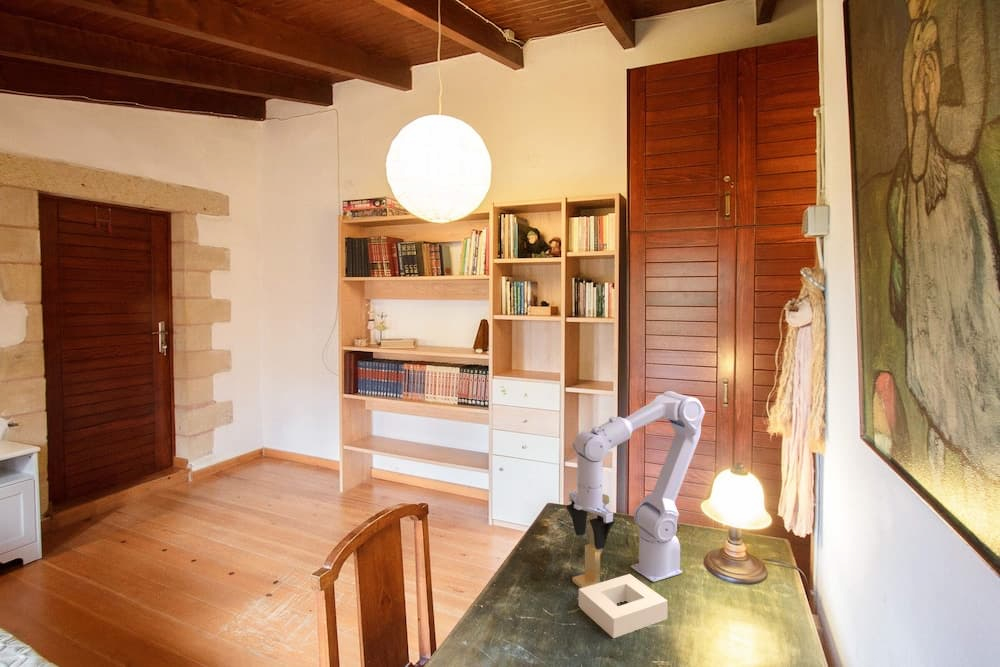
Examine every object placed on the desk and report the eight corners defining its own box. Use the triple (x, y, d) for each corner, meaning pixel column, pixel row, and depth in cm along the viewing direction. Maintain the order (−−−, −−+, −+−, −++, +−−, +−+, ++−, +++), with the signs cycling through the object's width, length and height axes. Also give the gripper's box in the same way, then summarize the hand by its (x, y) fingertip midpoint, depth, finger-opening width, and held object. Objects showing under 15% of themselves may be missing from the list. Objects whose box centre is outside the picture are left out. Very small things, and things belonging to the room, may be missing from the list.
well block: (629, 590, 122) (629, 573, 122) (667, 619, 112) (667, 600, 111) (578, 606, 116) (578, 588, 116) (613, 638, 105) (613, 618, 105)
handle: (611, 556, 138) (611, 500, 137) (586, 558, 137) (587, 501, 136) (605, 547, 143) (605, 493, 142) (581, 549, 142) (582, 494, 141)
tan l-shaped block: (589, 577, 128) (590, 543, 128) (600, 585, 125) (600, 551, 124) (572, 582, 126) (572, 548, 126) (582, 590, 123) (582, 555, 122)
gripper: (558, 477, 128) (558, 532, 129) (594, 497, 115) (594, 558, 116) (582, 472, 131) (582, 526, 132) (620, 492, 119) (620, 551, 120)
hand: (589, 541), depth 125 cm, fingers open, 7 cm apart
